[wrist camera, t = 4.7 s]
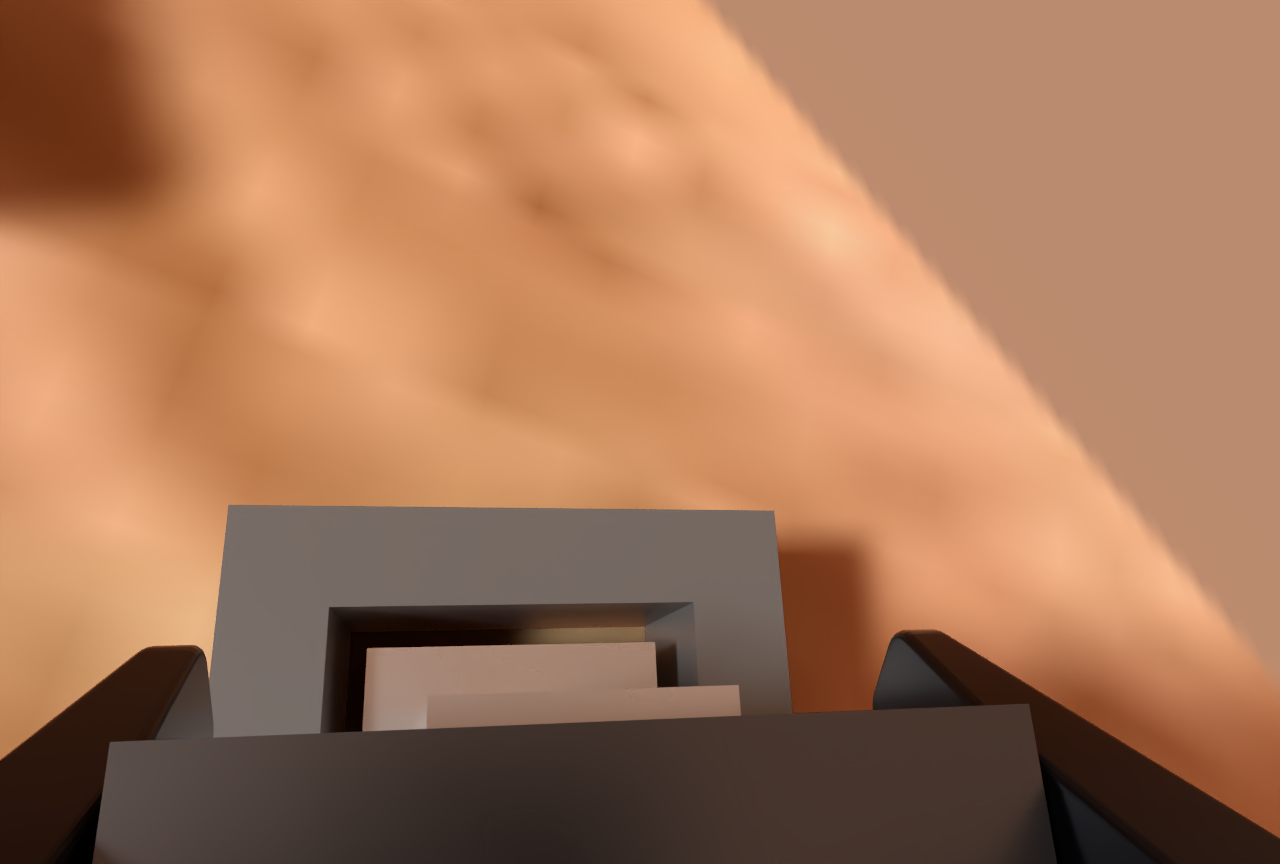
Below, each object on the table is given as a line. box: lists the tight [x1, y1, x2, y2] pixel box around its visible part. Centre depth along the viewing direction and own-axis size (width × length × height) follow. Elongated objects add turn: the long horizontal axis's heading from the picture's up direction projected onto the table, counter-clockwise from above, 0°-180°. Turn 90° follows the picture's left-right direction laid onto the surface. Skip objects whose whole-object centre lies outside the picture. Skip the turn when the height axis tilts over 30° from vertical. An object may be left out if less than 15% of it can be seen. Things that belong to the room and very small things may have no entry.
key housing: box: [209, 505, 793, 738], centre depth 14 cm, size 8×8×4 cm
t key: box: [92, 642, 1057, 864], centre depth 10 cm, size 4×6×9 cm
